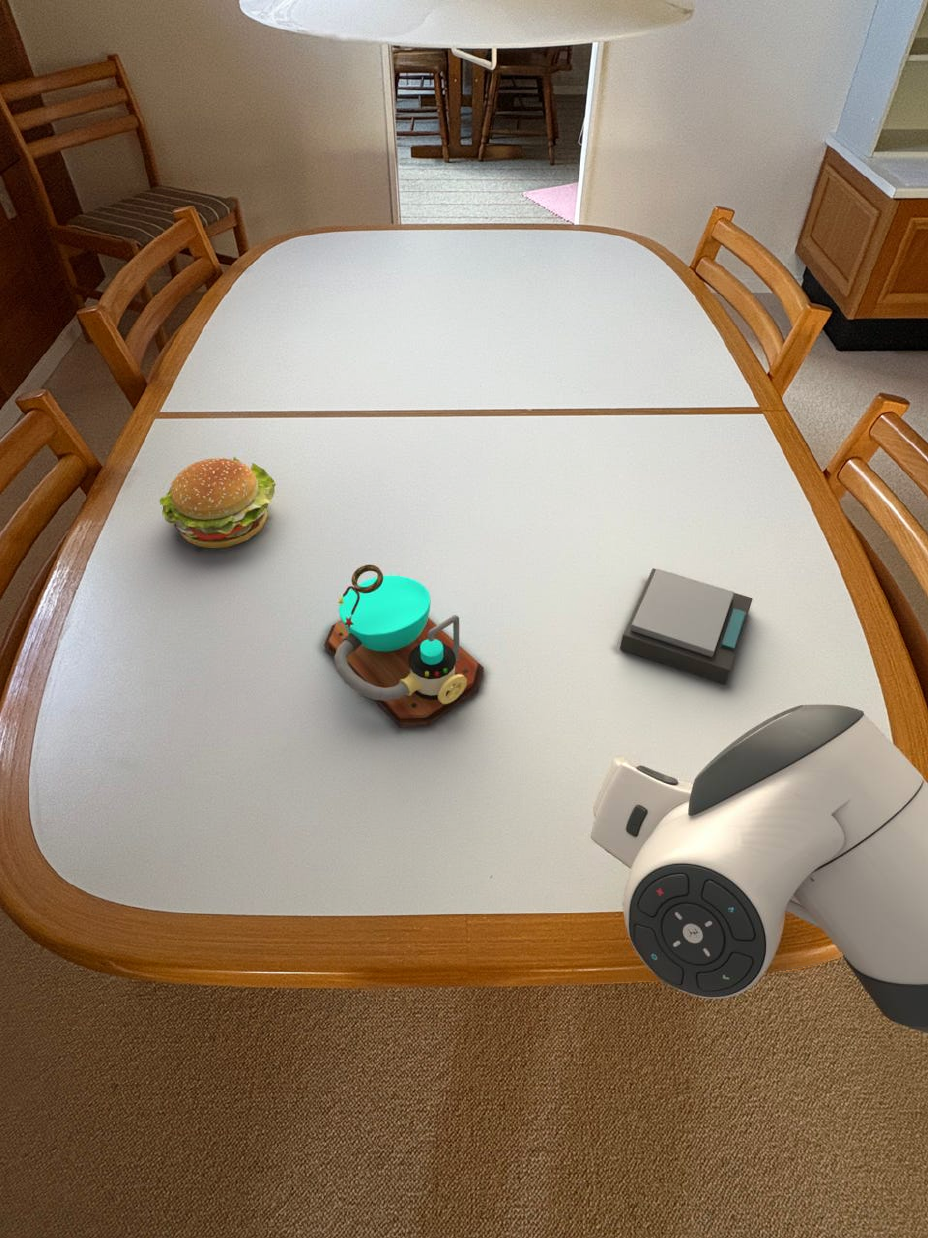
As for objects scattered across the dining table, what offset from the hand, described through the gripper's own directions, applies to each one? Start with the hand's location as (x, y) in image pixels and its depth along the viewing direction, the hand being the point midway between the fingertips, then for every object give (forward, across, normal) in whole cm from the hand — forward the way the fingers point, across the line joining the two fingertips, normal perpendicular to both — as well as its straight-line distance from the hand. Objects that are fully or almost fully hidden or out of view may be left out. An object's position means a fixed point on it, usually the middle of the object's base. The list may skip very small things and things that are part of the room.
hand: (729, 817), depth 67 cm
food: (+13, +71, -3) cm, 72 cm away
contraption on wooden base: (+7, +38, +3) cm, 39 cm away
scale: (+23, +12, -13) cm, 29 cm away
